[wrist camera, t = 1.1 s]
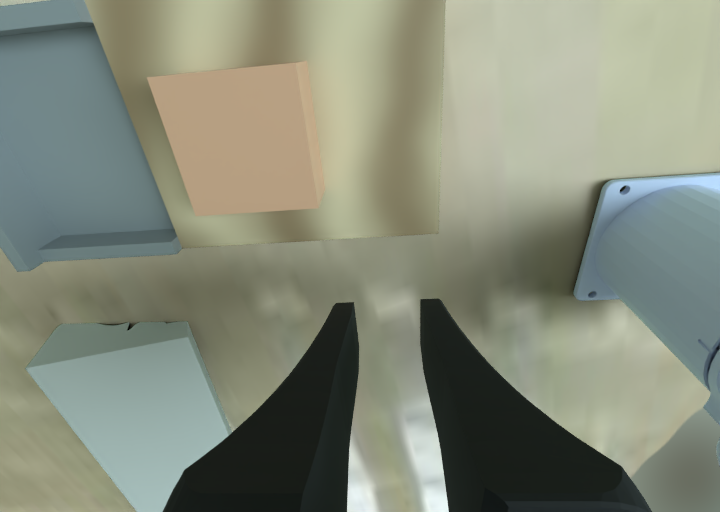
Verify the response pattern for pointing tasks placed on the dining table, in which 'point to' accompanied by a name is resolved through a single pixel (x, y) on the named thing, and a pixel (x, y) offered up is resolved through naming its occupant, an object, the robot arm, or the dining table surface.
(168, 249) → the tray
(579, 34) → the dining table surface
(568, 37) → the dining table surface
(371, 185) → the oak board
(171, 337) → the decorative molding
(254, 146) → the tile
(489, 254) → the dining table surface
